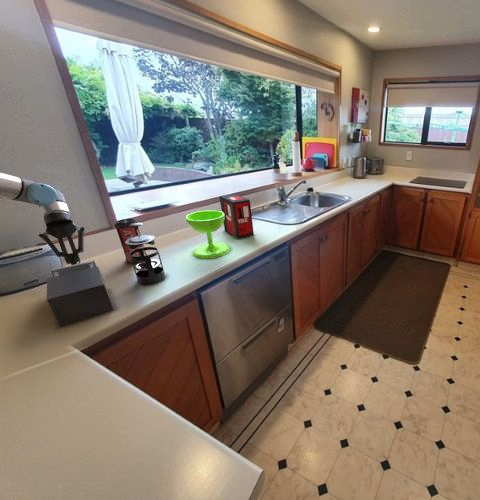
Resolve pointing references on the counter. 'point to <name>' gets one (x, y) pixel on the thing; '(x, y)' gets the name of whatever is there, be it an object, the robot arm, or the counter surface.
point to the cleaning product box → (237, 215)
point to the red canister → (127, 237)
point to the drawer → (73, 268)
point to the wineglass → (208, 232)
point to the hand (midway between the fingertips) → (76, 270)
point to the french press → (145, 259)
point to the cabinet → (78, 295)
